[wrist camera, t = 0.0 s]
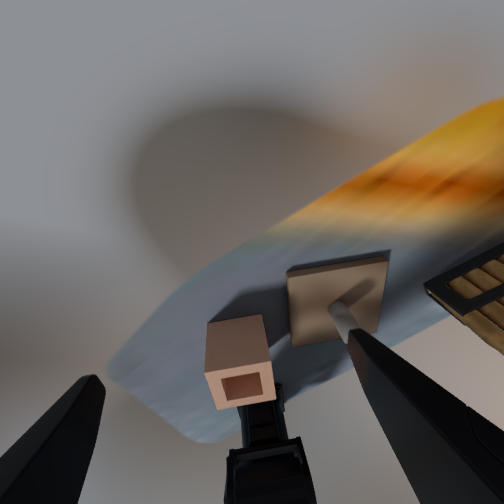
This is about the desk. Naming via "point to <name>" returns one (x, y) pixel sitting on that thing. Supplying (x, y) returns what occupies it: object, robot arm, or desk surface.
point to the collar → (238, 362)
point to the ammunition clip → (475, 295)
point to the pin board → (335, 300)
